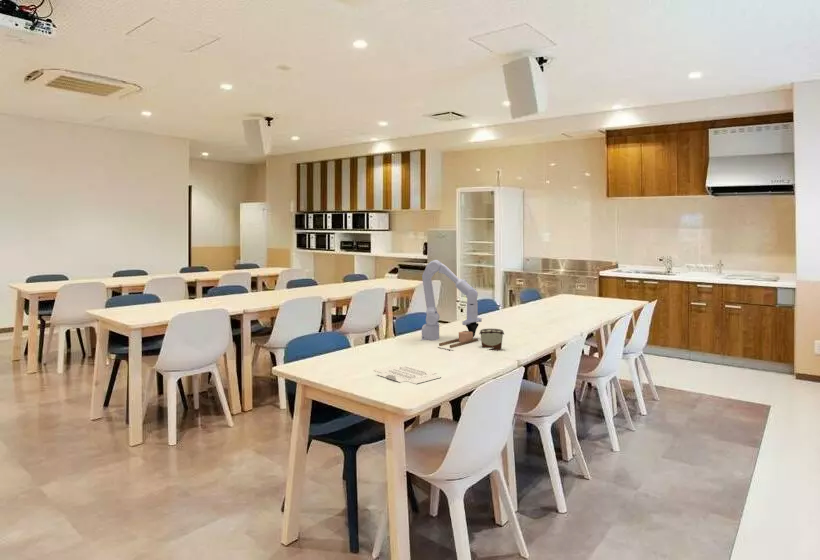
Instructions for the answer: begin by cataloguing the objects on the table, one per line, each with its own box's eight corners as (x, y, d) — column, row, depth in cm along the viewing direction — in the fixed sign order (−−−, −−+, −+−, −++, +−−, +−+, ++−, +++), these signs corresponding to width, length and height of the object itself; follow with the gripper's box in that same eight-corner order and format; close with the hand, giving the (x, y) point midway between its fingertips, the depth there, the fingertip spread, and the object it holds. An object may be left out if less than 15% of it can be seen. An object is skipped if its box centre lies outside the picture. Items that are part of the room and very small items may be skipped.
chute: (437, 347, 275) (437, 343, 274) (464, 341, 290) (464, 336, 290) (452, 350, 268) (452, 345, 267) (479, 343, 284) (479, 338, 283)
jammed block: (458, 341, 283) (458, 332, 282) (465, 339, 287) (465, 330, 287) (465, 342, 279) (465, 333, 279) (472, 341, 284) (472, 331, 283)
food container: (503, 347, 273) (503, 328, 272) (504, 350, 267) (504, 330, 266) (478, 347, 275) (478, 328, 274) (479, 350, 269) (479, 330, 268)
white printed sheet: (403, 365, 243) (403, 357, 242) (447, 380, 222) (447, 371, 221) (367, 373, 229) (367, 365, 229) (410, 390, 208) (410, 381, 208)
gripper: (469, 314, 278) (469, 339, 279) (486, 310, 288) (486, 335, 290) (459, 312, 283) (459, 337, 284) (475, 309, 293) (475, 333, 294)
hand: (472, 336), depth 287 cm, fingers closed
